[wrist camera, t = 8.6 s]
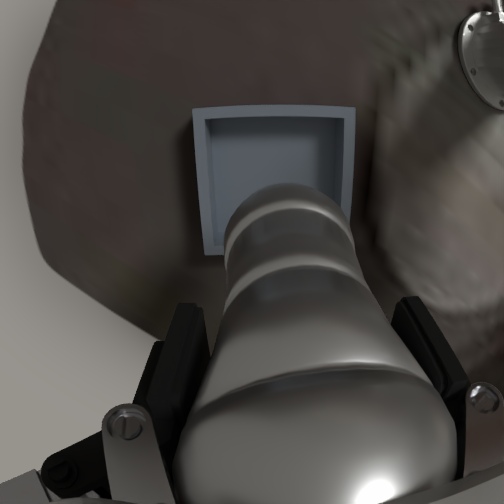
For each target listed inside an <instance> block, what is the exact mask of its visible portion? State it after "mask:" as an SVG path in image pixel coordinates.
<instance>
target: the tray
mask: <svg viewBox="0 0 504 504" xmlns="http://www.w3.org/2000/svg"><path fill="white" fill-rule="evenodd" d="M192 112H193V128H194V143H195V157H196V170H197V182H198V193H199V204H200V215H201V225H202V235H203V244H204V254H205V255H224V243H223V239H224V234H225V229H226V226H227V224H228V222H229V220H230V217H231V216H232V215H233V213H234V212H235V211H236V209H237V208H238V207H239V206H240V204H241V203H242V202H243V201H244V200H245V199H247V198H248V197H249V196H250V195H251V194H253V193H254V192H256V191H258V190H259V189H261V188H264V187H267V186H269V185H272V184H278V183H298V184H303V185H307V186H309V187H312V188H314V189H316V190H318V191H320V192H322V193H323V194H325V195H326V196H328V197H329V198H330V199H332V200H333V201H334V202H335V203H336V204H337V205H338V206H339V207H340V208H341V209H342V211H343V212H344V214H345V216H346V218H347V220H348V222H349V225H350V214H351V201H352V187H353V170H354V148H355V108H353V107H341V106H323V105H239V106H220V107H206V108H196V109H192Z"/></svg>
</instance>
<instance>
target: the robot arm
mask: <svg viewBox="0 0 504 504" xmlns="http://www.w3.org/2000/svg"><path fill="white" fill-rule="evenodd" d="M491 2H492V5H493V11H492V12H488V11H480V12H476V13H473V14H471V15H469V16H468V17H467V18H466V19H464V21H463V23H462V24H461V27H460V30H459V34H458V52H459V57H460V62H461V65H462V68H463V71H464V73H465V75H466V77H467V80H468V82H469V83H470V85H471V86H472V88H473V90H474V91H475V92H476V93H477V95H478V96H479V97H480V98H481V99H482V100H483V101H484V102H485V103H487V104H488V105H490V106H491V107H494V108H496V109H499V110H504V13H503V11H502V2H501V0H491ZM503 6H504V0H503ZM391 326H392V328H393V329H394V330H395V332H396V333H397V334H398V336H399V337H400V338H401V340H402V341H403V343H404V344H405V345H406V347H407V348H408V350H409V351H410V352H411V354H412V355H413V357H414V358H415V359H416V361H417V362H418V364H419V365H420V366H421V368H422V369H423V371H424V372H425V374H426V375H427V377H428V378H429V379H430V381H431V382H432V384H433V387H434V388H435V389H436V390H437V391H438V392H439V394H440V396H441V398H442V400H443V401H444V403H445V405H446V407H447V409H448V411H449V413H450V415H451V417H452V418H453V420H454V423H455V427H456V434H457V471H456V475H455V479H454V482H451V483H448V484H445V485H442V486H439V487H436V488H433V489H430V490H426V491H423V492H419V493H416V494H412V495H408V496H405V497H402V498H399V499H396V500H393V501H390V502H386V503H383V504H504V402H503V398H502V395H501V393H500V392H499V390H497V389H496V388H495V387H494V386H492V385H491V384H488V383H484V382H478V383H475V384H472V385H471V383H470V381H469V379H468V377H467V375H466V373H465V371H464V370H463V368H462V366H461V364H460V362H459V361H458V359H457V357H456V355H455V354H454V352H453V350H452V349H451V347H450V345H449V344H448V342H447V340H446V339H445V337H444V335H443V334H442V332H441V330H440V329H439V327H438V325H437V324H436V322H435V321H434V319H433V318H432V316H431V314H430V313H429V311H428V310H427V308H426V307H425V305H424V304H423V302H422V301H421V299H420V298H419V297H418V296H412V297H403V298H402V299H401V301H400V302H397V304H396V307H395V311H394V314H393V318H392V322H391ZM209 361H210V353H209V347H208V340H207V334H206V328H205V321H204V315H203V309H202V308H197V305H196V303H179V304H178V306H177V308H176V311H175V314H174V317H173V320H172V322H171V325H170V328H169V331H168V334H167V337H166V340H165V341H156V342H155V343H154V345H153V347H152V350H151V352H150V355H149V358H148V360H147V363H146V366H145V369H144V371H143V374H142V377H141V380H140V382H139V385H138V388H137V391H136V394H135V397H134V400H133V403H132V404H130V403H128V404H121V405H118V406H115V407H114V408H112V409H111V410H109V411H108V413H107V414H106V415H105V416H104V418H103V421H102V430H101V431H100V432H97V433H96V434H94V435H91V436H89V437H88V438H85V439H83V440H81V441H79V442H77V443H75V444H73V445H71V446H69V447H67V448H65V449H63V450H61V451H59V452H56V453H54V454H52V455H51V456H49V457H48V458H47V459H46V460H45V461H44V463H43V465H42V468H41V470H39V471H36V470H35V469H33V470H31V471H29V472H26V473H24V474H22V475H20V476H18V477H15V478H13V479H11V480H8V481H6V482H3V483H1V484H0V504H179V503H178V500H177V497H176V494H175V489H174V482H173V476H172V463H173V459H174V456H175V453H176V450H177V446H178V443H179V439H180V435H181V432H182V430H183V428H184V426H185V425H186V420H187V417H188V415H189V412H190V409H191V407H192V404H193V402H194V399H195V397H196V394H197V392H198V389H199V387H200V384H201V382H202V379H203V376H204V374H205V371H206V369H207V366H208V364H209Z"/></svg>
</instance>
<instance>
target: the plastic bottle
mask: <svg viewBox="0 0 504 504" xmlns="http://www.w3.org/2000/svg"><path fill="white" fill-rule="evenodd" d="M223 243H224V264H225V268H226V272H227V277H226V304H225V307H224V312H223V316H222V319H221V323H220V327H219V331H218V335H217V339H216V343H215V347H214V351H213V354H212V356H211V359H210V361H209V364H208V366H207V369H206V371H205V374H204V376H203V379H202V382H201V384H200V387H199V389H198V392H197V394H196V397H195V399H194V402H193V404H192V407H191V409H190V412H189V415H188V417H187V420H186V425H185V426H184V428H183V430H182V432H181V435H180V439H179V443H178V446H177V450H176V453H175V456H174V459H173V463H172V476H173V482H174V489H175V494H176V497H177V500H178V503H179V504H383V503H386V502H390V501H393V500H396V499H399V498H402V497H405V496H408V495H412V494H416V493H419V492H423V491H426V490H430V489H433V488H436V487H439V486H442V485H445V484H448V483H451V482H454V479H455V475H456V471H457V434H456V427H455V423H454V420H453V418H452V417H451V415H450V413H449V411H448V409H447V407H446V405H445V403H444V401H443V400H442V398H441V396H440V394H439V392H438V391H437V390H436V389H435V388H434V387H433V384H432V382H431V381H430V379H429V378H428V377H427V375H426V374H425V372H424V371H423V369H422V368H421V366H420V365H419V364H418V362H417V361H416V359H415V358H414V357H413V355H412V354H411V352H410V351H409V350H408V348H407V347H406V345H405V344H404V343H403V341H402V340H401V338H400V337H399V336H398V334H397V333H396V332H395V330H394V329H393V328H392V326H391V325H390V323H389V322H388V320H387V318H386V316H385V314H384V313H383V311H382V309H381V307H380V306H379V304H378V302H377V300H376V299H375V297H374V295H373V294H372V292H371V290H370V289H369V287H368V285H367V283H366V282H365V279H364V277H363V274H362V271H361V268H360V265H359V262H358V259H357V256H356V253H355V245H354V239H353V236H352V233H351V229H350V226H349V222H348V220H347V218H346V216H345V214H344V212H343V211H342V209H341V208H340V207H339V206H338V205H337V204H336V203H335V202H334V201H333V200H332V199H330V198H329V197H328V196H326V195H325V194H323V193H322V192H320V191H318V190H316V189H314V188H312V187H309V186H307V185H303V184H298V183H278V184H272V185H269V186H267V187H264V188H261V189H259V190H258V191H256V192H254V193H253V194H251V195H250V196H249V197H248V198H247V199H245V200H244V201H243V202H242V203H241V204H240V206H239V207H238V208H237V209H236V211H235V212H234V213H233V215H232V216H231V217H230V220H229V222H228V224H227V226H226V229H225V234H224V239H223Z"/></svg>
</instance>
